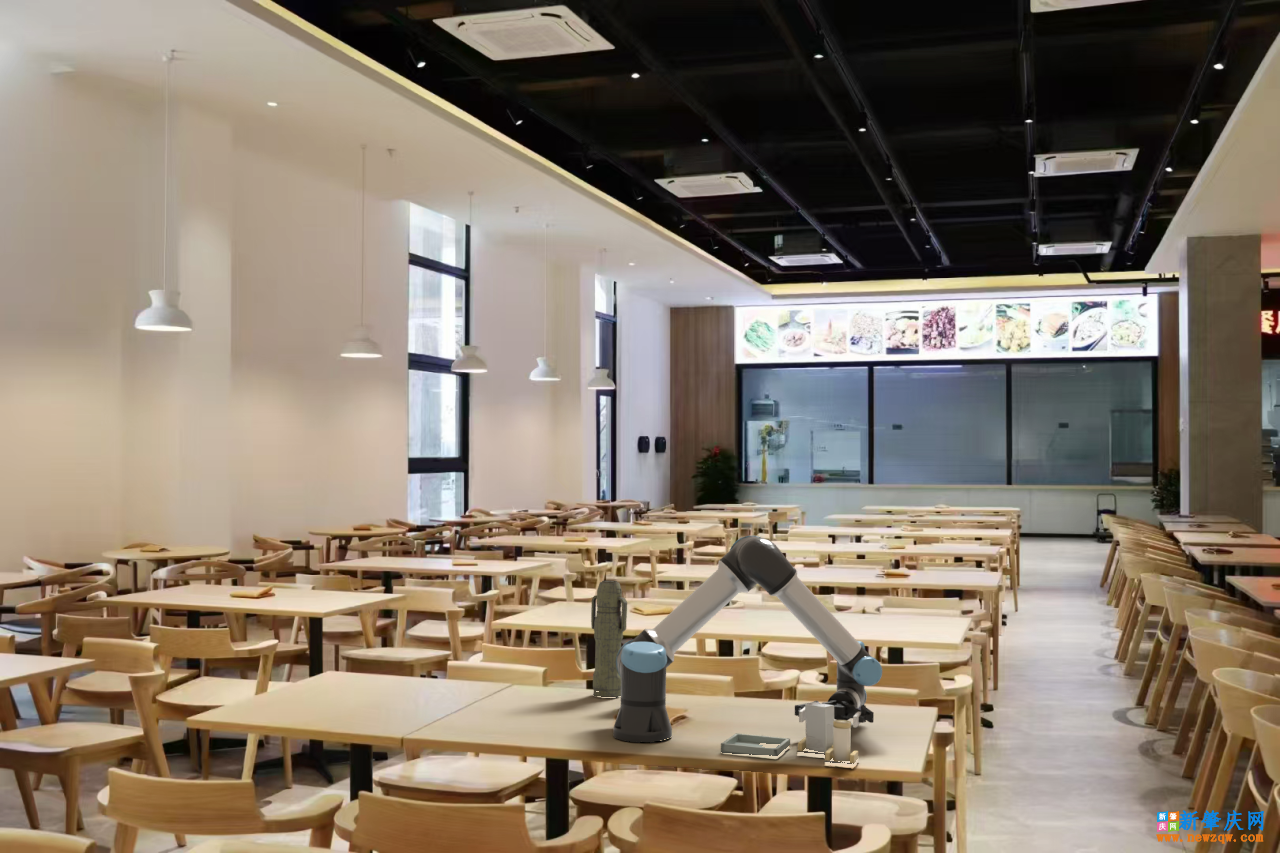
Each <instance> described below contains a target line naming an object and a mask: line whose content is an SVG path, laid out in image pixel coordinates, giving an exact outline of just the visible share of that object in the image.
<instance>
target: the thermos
mask: <svg viewBox="0 0 1280 853" xmlns="http://www.w3.org/2000/svg"><path fill="white" fill-rule="evenodd" d="M622 592H623V591H622V587H621V584H620V582H618V581H617V580H602V581H600V582H599V584H598V586H597V591H596V595H593V597H592V599H591V607H590V608H591V611H590V612H591V615H590V616H591V617H590V618H591V619H590V622H591V630H593V631H594V632H593V638H594V641H595V652H594V653H595V657H594V671H593V674H592V689H593V694H592V696H593V695H594V696H601V697H618V696H621V677H620V675H619V673H618V671H617V667H616V659H617V654H618V652H619V650H620V648H621V647H622V641H623V638H624V632H625V631H626V630H627V619H628V616H627V615H628V601H627V599H626V597H623V596H622ZM596 610H597V611H596ZM596 691H599V692H596ZM594 696H593V697H594Z"/></svg>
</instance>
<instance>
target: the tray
mask: <svg viewBox="0 0 1280 853" xmlns="http://www.w3.org/2000/svg"><path fill="white" fill-rule="evenodd" d="M760 743H766V744H780V745H778V746H777V747H776V748H765V747H762V746H763V745H759V744H760ZM789 745H790V746H791V738H786V737H778V736H777V737H776V736H768V735H767V736H766V735H760V734H759V735H757V734H747V733H734V734H733V735H731V736H730V737H729V738H727V739H726V740H724V741H723V742H721V743H720V753H721V752H722V753H732V754H749V755H751V754H752V755H769V756H771V755H772V756H778V755H779V754H780V753H781V752H782V751H783V750H784V749H786V748H787V747H788V746H789Z"/></svg>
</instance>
